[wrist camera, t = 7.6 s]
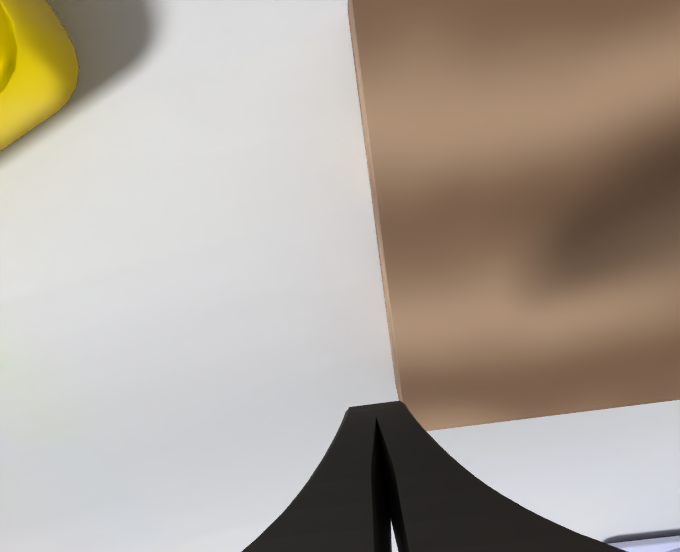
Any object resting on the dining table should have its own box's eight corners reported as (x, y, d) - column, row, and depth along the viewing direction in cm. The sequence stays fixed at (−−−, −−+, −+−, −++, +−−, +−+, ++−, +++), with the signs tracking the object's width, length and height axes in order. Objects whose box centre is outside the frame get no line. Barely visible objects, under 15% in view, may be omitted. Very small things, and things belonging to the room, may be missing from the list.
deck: (657, 351, 22) (725, 393, 18) (395, 385, 22) (406, 433, 18) (663, -42, 18) (751, -96, 14) (347, 10, 19) (348, -29, 15)
